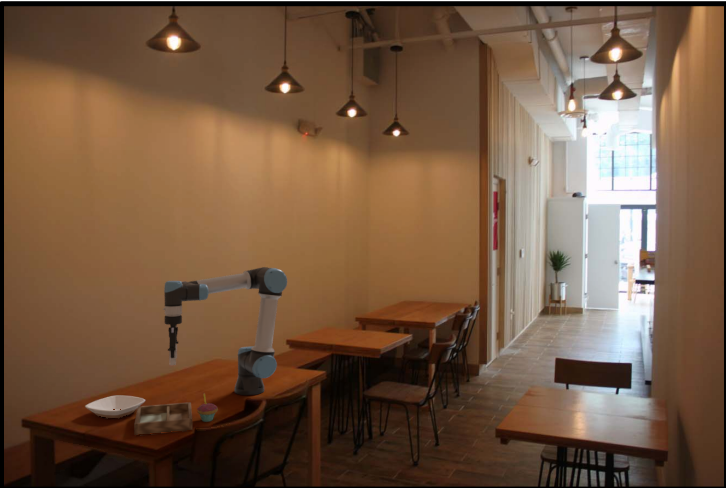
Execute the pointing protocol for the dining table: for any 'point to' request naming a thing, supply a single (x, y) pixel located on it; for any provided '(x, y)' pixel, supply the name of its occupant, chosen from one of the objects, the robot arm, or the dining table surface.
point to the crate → (163, 418)
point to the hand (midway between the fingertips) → (173, 361)
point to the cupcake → (207, 411)
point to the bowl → (115, 406)
